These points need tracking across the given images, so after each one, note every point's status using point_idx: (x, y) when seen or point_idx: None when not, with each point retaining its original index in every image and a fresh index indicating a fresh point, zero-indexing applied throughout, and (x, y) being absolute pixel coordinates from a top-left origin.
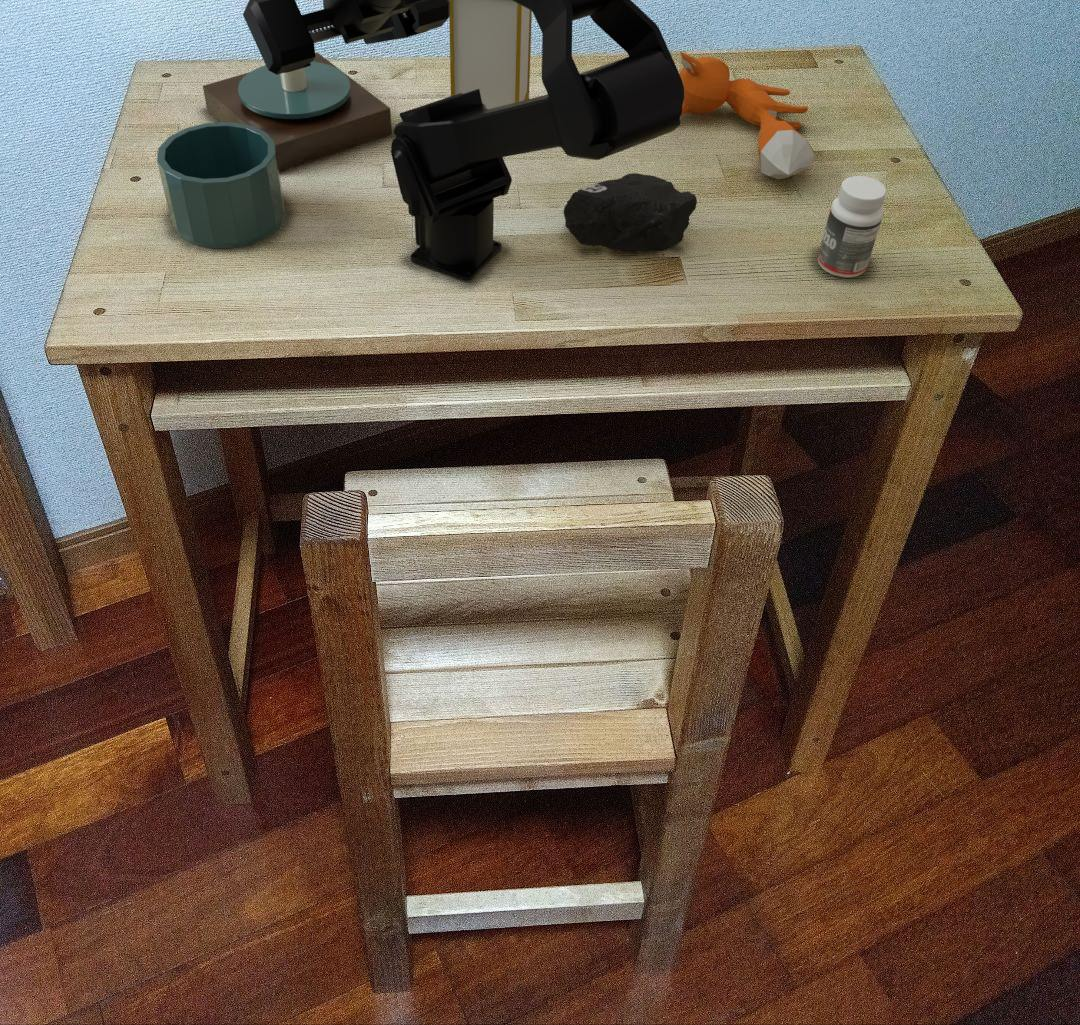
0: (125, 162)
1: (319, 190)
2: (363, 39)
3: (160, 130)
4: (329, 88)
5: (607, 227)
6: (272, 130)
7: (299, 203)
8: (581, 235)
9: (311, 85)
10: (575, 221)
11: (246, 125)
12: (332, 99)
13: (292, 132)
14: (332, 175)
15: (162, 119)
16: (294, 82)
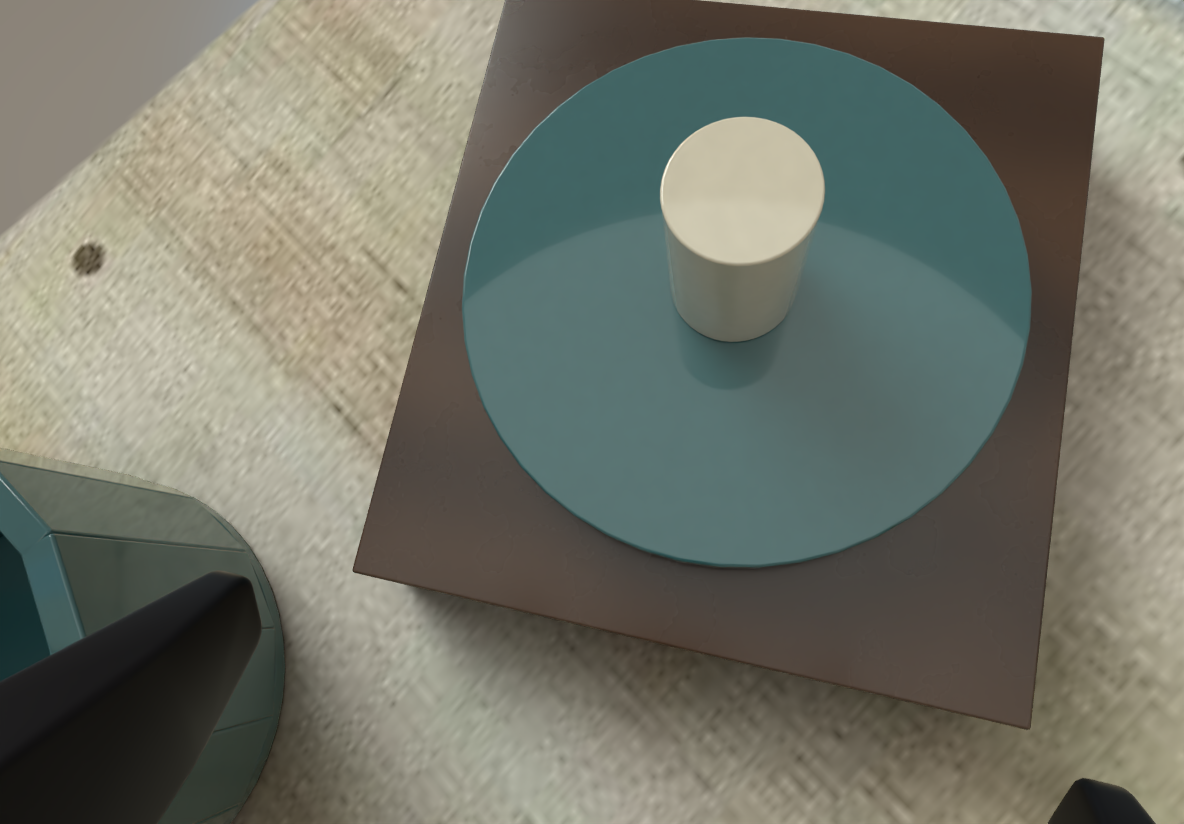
0: (139, 154)
1: (430, 808)
2: (1061, 802)
3: (344, 60)
4: (853, 419)
5: None
6: (450, 466)
7: (312, 818)
8: None
9: (803, 332)
10: None
11: (71, 627)
12: (787, 518)
13: (498, 544)
14: (545, 761)
15: (397, 6)
16: (696, 315)
